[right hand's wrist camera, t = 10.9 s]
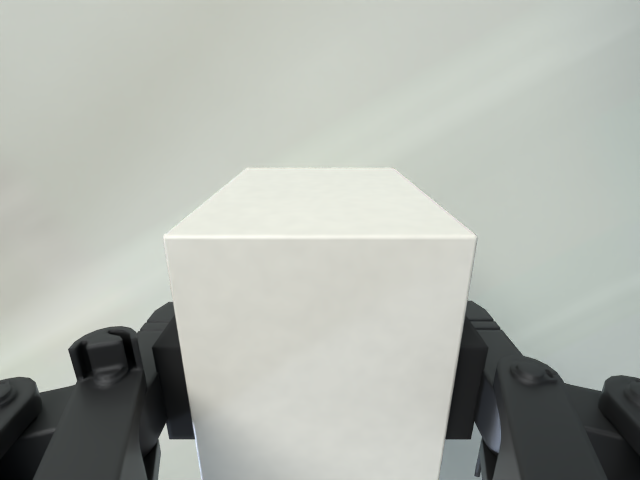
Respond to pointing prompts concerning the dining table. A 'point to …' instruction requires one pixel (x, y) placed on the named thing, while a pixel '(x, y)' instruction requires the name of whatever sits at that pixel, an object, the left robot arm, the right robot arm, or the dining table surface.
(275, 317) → the brick
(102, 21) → the dining table surface
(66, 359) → the dining table surface
